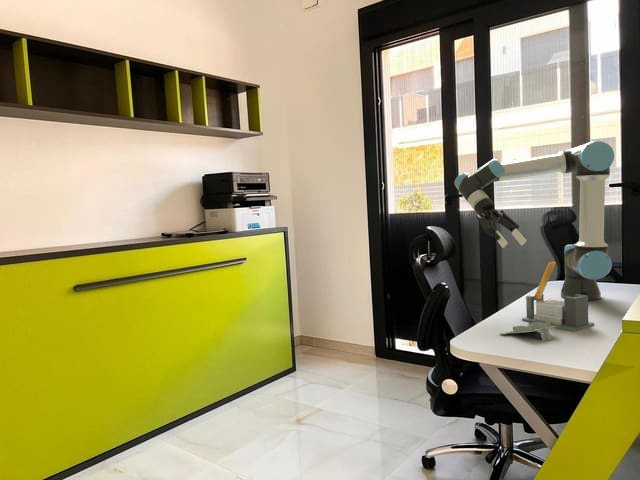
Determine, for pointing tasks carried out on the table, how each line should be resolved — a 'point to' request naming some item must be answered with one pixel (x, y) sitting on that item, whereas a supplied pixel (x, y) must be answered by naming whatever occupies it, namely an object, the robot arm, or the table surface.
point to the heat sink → (546, 310)
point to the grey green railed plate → (559, 325)
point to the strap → (544, 280)
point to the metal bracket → (534, 329)
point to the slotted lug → (576, 310)
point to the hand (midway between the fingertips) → (514, 244)
